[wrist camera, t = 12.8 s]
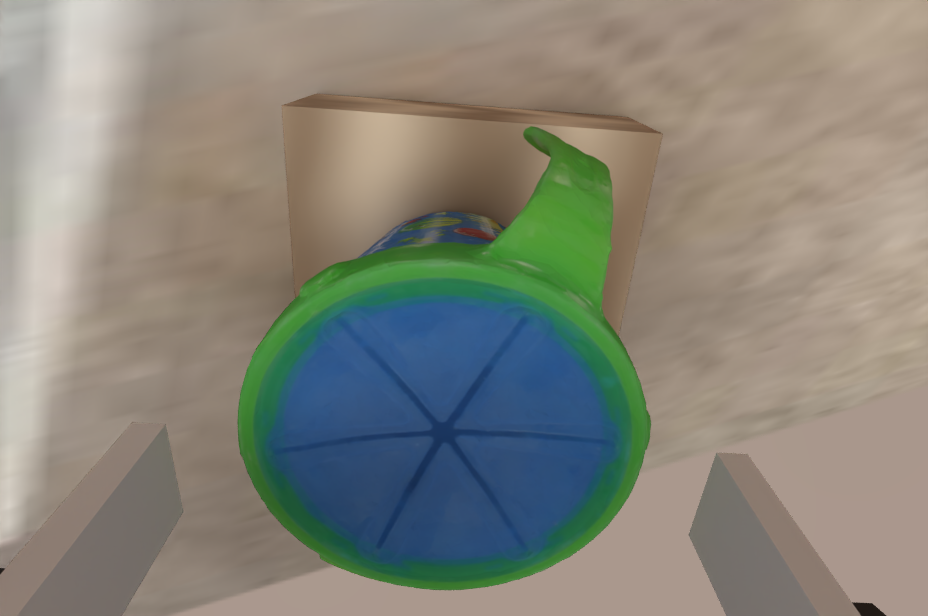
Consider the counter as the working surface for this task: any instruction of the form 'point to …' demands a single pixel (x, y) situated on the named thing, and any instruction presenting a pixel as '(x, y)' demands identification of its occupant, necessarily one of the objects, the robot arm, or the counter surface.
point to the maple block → (445, 173)
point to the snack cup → (454, 393)
